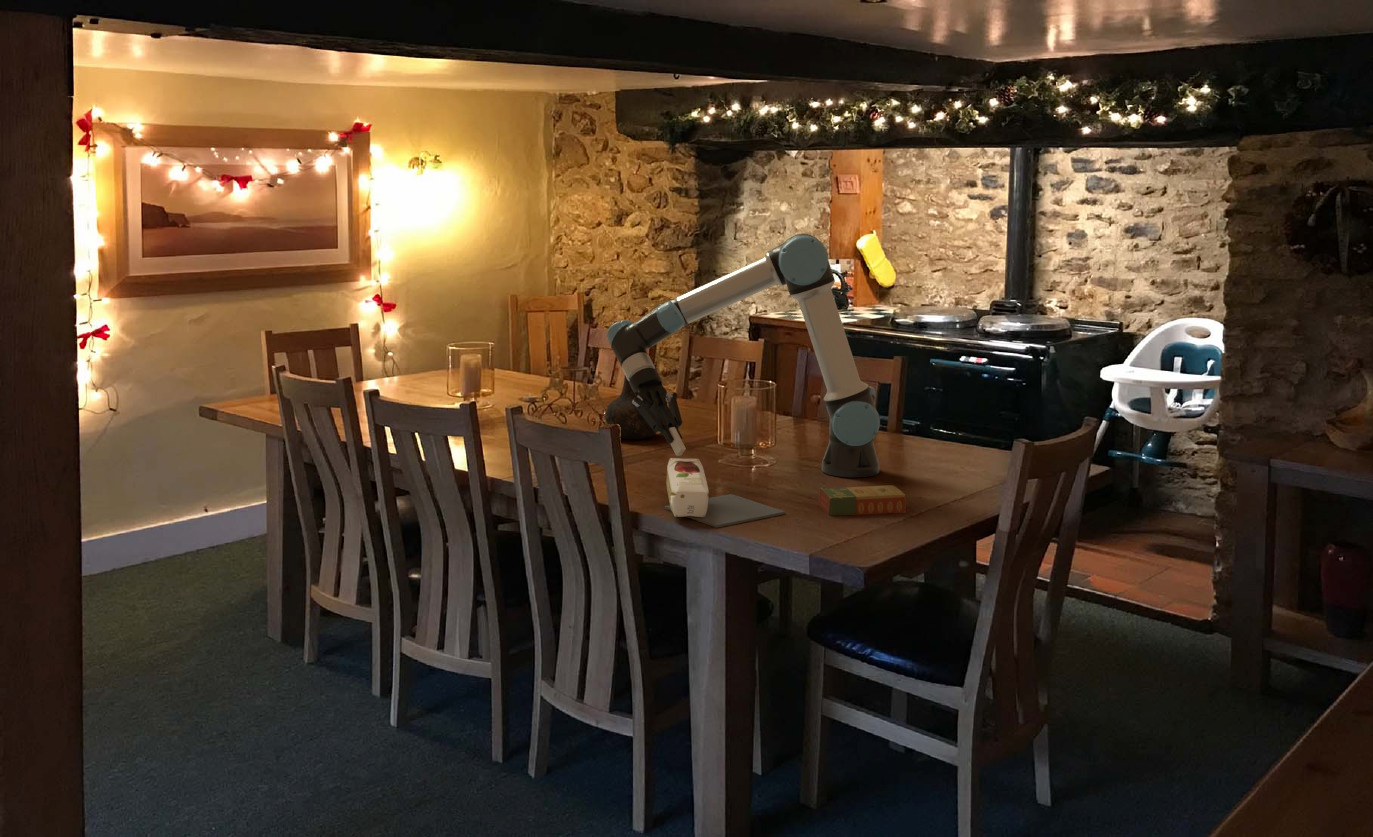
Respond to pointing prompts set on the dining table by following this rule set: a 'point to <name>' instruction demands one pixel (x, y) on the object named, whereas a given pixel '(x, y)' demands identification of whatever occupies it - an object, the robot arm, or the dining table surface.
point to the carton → (862, 500)
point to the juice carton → (687, 487)
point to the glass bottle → (627, 415)
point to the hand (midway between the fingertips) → (681, 452)
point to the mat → (733, 511)
